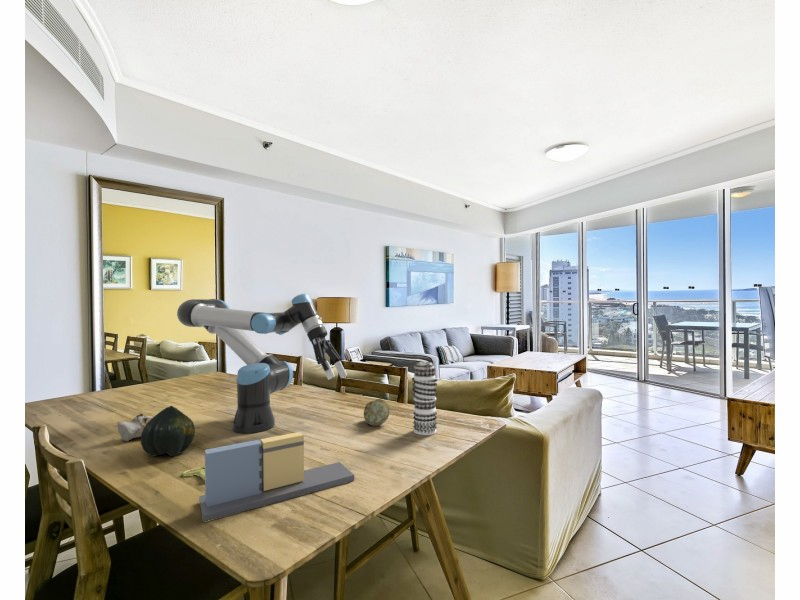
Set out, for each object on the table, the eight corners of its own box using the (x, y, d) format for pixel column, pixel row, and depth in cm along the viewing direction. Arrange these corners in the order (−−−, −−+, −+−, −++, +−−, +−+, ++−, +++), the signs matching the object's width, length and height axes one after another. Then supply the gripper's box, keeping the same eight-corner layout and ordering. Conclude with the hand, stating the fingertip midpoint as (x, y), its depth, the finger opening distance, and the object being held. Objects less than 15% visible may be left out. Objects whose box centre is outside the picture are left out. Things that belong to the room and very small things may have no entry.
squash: (156, 449, 112) (184, 402, 122) (121, 445, 117) (150, 400, 127) (189, 467, 122) (213, 422, 131) (155, 462, 127) (180, 419, 137)
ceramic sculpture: (114, 414, 137) (162, 407, 148) (112, 439, 136) (160, 430, 147) (121, 420, 129) (171, 413, 140) (119, 446, 129) (169, 437, 140)
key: (206, 486, 102) (206, 478, 102) (179, 476, 108) (179, 468, 108) (230, 475, 108) (230, 468, 108) (203, 466, 114) (203, 459, 114)
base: (203, 522, 84) (203, 515, 84) (199, 502, 93) (199, 496, 93) (354, 480, 103) (354, 474, 103) (339, 467, 112) (339, 461, 112)
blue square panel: (206, 507, 88) (206, 454, 88) (205, 501, 90) (204, 449, 90) (262, 492, 94) (261, 443, 94) (259, 487, 97) (258, 439, 97)
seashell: (391, 419, 156) (391, 394, 156) (388, 428, 145) (387, 402, 145) (365, 418, 157) (365, 394, 157) (360, 428, 146) (359, 401, 146)
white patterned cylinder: (430, 437, 135) (429, 365, 135) (407, 432, 140) (407, 363, 140) (442, 429, 143) (441, 362, 143) (420, 425, 148) (419, 360, 148)
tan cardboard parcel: (263, 491, 94) (263, 443, 94) (260, 486, 97) (260, 439, 97) (304, 480, 100) (303, 435, 100) (300, 476, 102) (300, 431, 102)
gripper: (309, 321, 143) (334, 373, 138) (334, 327, 167) (356, 371, 162) (292, 331, 143) (316, 383, 138) (319, 336, 167) (341, 380, 163)
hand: (338, 377), depth 150 cm, fingers open, 13 cm apart
